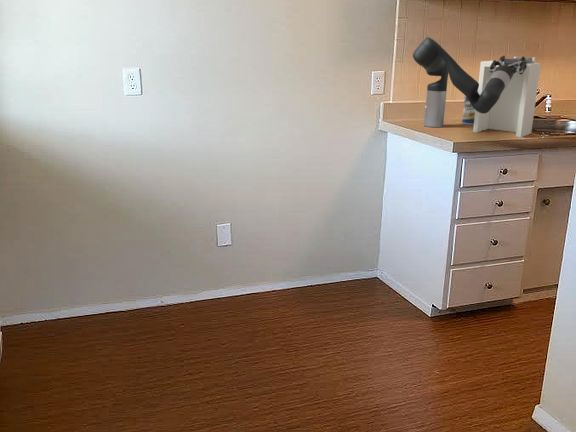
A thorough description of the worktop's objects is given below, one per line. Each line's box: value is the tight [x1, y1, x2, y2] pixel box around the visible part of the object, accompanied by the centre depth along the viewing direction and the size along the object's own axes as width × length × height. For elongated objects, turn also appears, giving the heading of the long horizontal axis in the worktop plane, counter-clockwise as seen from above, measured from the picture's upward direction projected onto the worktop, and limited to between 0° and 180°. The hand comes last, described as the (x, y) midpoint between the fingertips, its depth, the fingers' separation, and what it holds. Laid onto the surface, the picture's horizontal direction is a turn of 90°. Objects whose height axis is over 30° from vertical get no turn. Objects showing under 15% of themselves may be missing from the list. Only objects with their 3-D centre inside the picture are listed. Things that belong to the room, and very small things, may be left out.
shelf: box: [472, 56, 542, 138], centre depth 287 cm, size 22×16×34 cm
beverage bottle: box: [461, 95, 475, 126], centre depth 313 cm, size 8×8×20 cm
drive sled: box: [504, 56, 533, 64], centre depth 275 cm, size 5×24×2 cm, turn 143°
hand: (513, 57), depth 269 cm, fingers open, 8 cm apart
